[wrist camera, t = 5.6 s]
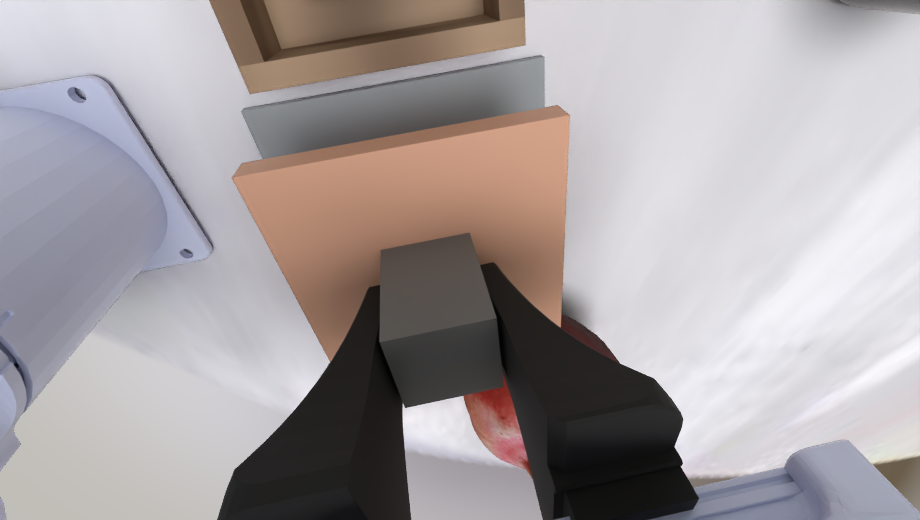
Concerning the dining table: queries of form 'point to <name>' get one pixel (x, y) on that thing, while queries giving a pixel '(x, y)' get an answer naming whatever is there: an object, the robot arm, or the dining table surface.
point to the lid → (421, 239)
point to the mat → (397, 107)
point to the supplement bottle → (887, 5)
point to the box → (359, 35)
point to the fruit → (497, 410)
